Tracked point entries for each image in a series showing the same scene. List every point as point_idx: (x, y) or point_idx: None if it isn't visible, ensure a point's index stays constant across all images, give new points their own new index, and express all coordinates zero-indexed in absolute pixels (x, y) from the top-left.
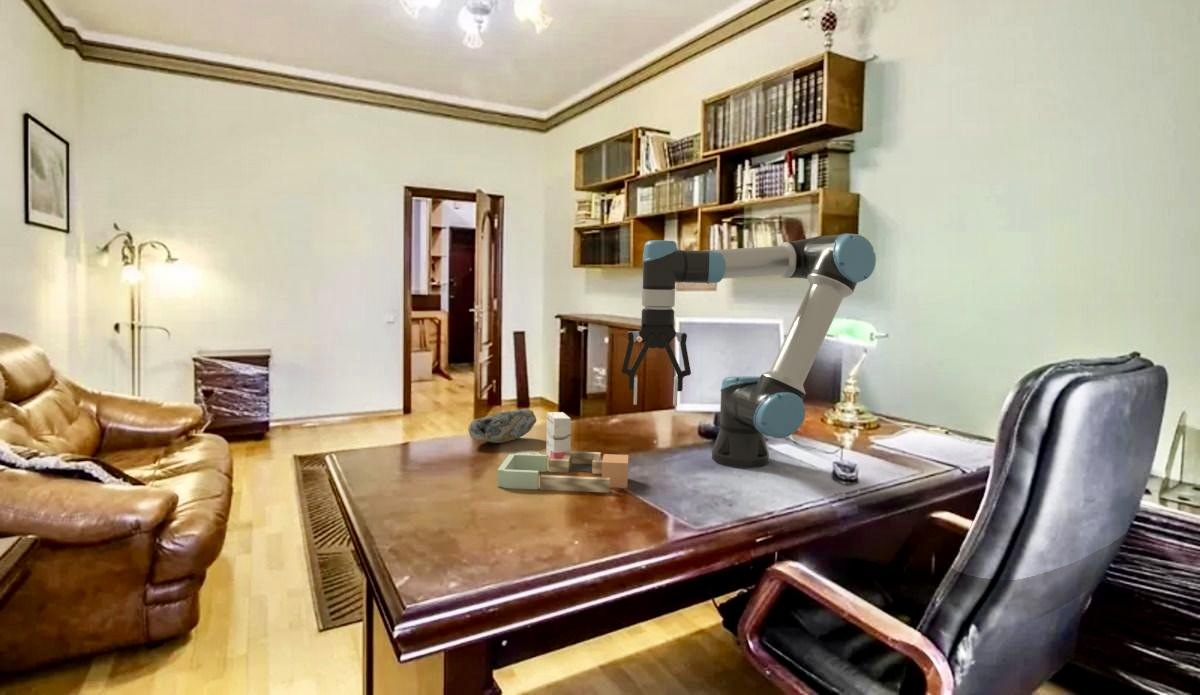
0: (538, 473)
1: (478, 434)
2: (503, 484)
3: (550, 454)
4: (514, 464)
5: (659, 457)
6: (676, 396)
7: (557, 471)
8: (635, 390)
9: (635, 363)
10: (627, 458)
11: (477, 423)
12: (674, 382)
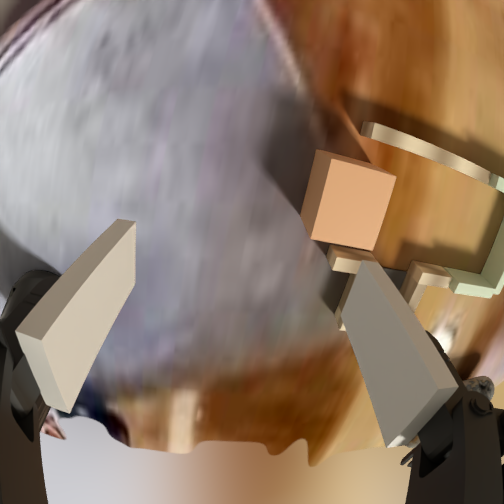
0: (493, 184)
1: (485, 380)
2: None
3: None
4: (487, 278)
5: (200, 346)
6: (97, 244)
7: (428, 264)
8: (405, 311)
9: (496, 494)
10: (321, 205)
11: (490, 393)
12: (65, 324)
